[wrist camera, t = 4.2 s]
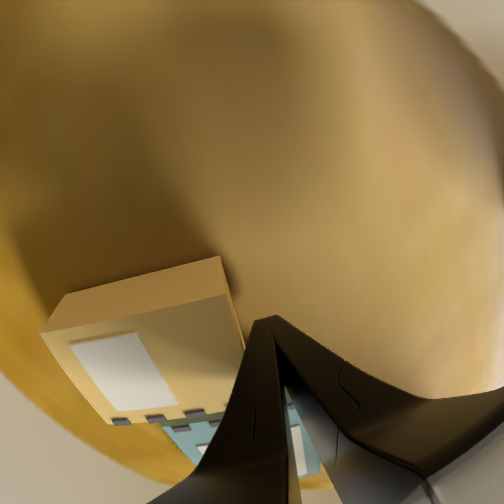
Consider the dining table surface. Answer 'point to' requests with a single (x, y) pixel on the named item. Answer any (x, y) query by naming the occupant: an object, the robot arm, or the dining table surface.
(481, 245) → the dining table surface
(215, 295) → the stub
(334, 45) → the dining table surface
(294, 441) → the pale blue pin-sided card
